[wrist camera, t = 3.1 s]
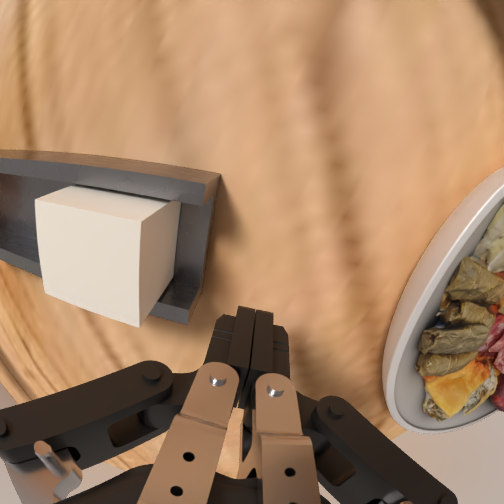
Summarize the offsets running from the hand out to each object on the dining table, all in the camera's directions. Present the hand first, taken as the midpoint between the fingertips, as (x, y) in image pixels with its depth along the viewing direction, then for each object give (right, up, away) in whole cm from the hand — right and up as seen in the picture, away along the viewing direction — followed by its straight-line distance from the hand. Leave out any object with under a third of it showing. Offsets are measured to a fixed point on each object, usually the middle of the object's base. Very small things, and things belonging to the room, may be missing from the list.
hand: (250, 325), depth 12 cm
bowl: (+25, -2, +8) cm, 26 cm away
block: (-8, +5, +6) cm, 12 cm away
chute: (-15, +7, +7) cm, 18 cm away
